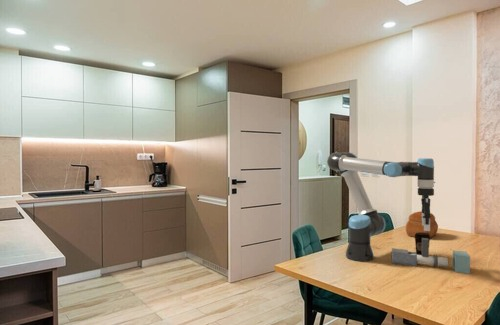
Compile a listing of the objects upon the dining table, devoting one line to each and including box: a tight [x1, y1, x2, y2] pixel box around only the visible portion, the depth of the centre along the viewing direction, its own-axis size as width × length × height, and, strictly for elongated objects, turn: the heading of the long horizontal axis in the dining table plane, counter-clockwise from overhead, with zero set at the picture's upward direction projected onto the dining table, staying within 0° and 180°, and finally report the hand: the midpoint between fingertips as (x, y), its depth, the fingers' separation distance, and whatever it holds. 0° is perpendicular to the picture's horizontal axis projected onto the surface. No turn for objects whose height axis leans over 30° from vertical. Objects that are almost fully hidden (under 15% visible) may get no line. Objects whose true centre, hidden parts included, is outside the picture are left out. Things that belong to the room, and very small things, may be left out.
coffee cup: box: [414, 232, 432, 255], centre depth 187 cm, size 9×8×13 cm
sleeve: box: [391, 248, 418, 267], centre depth 174 cm, size 12×6×7 cm, turn 66°
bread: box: [405, 210, 439, 238], centre depth 235 cm, size 18×22×17 cm
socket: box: [452, 250, 471, 275], centre depth 163 cm, size 6×9×8 cm, turn 156°
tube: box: [411, 238, 449, 267], centre depth 170 cm, size 25×6×14 cm, turn 66°
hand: (425, 228), depth 169 cm, fingers open, 13 cm apart
